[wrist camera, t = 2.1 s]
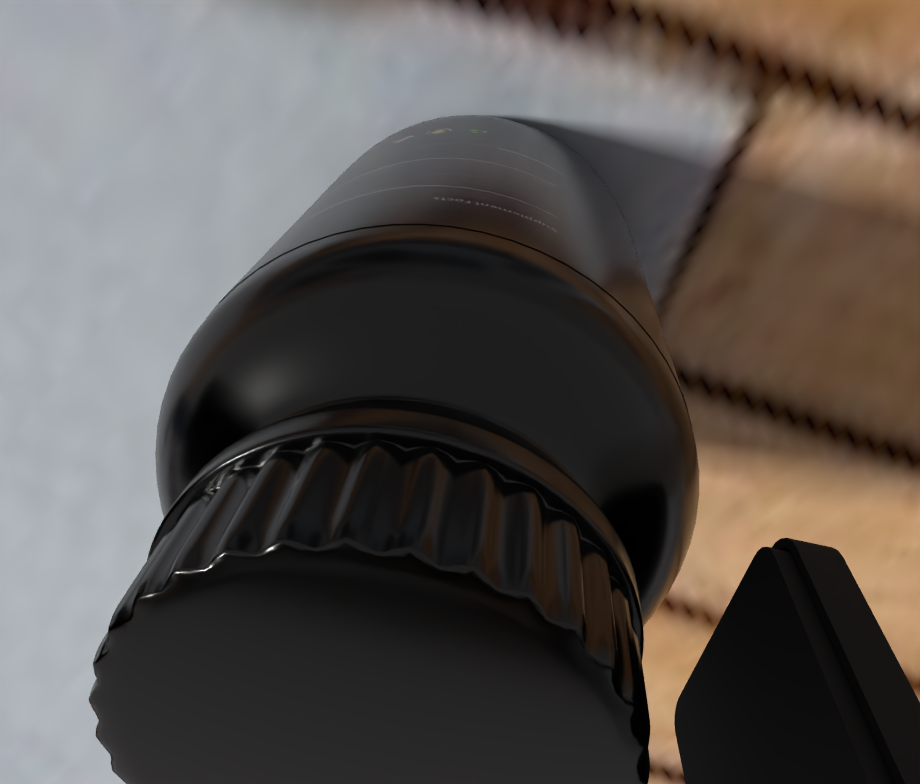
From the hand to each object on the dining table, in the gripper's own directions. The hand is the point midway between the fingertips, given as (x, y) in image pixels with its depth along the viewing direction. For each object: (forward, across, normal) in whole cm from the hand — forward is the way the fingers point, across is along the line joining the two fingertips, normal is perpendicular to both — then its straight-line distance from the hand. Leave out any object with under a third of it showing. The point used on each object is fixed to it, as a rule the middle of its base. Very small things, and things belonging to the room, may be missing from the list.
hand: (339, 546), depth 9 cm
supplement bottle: (+10, -1, 0) cm, 10 cm away
